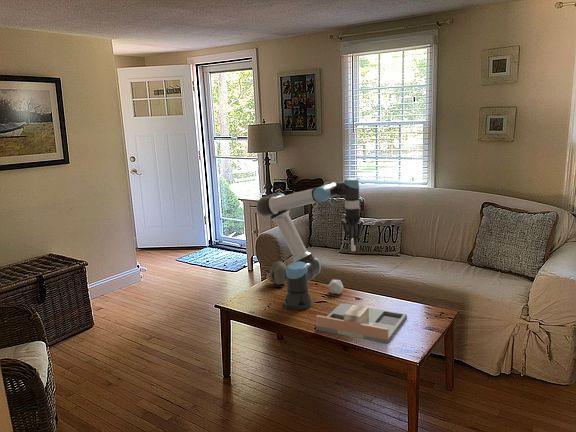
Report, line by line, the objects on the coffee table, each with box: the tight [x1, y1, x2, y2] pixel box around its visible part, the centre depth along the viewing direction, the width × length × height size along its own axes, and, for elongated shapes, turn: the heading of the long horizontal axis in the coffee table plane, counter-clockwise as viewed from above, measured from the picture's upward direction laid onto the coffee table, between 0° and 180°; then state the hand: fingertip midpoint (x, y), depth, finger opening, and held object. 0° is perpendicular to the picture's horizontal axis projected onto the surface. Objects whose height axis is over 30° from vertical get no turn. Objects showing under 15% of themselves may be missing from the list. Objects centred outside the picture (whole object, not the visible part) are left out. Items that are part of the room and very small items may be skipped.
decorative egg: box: [269, 260, 288, 286], centre depth 288 cm, size 12×12×15 cm
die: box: [327, 279, 344, 295], centre depth 269 cm, size 8×9×10 cm
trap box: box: [315, 302, 408, 345], centre depth 228 cm, size 36×30×7 cm
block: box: [344, 304, 370, 324], centre depth 221 cm, size 8×12×8 cm, turn 150°
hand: (353, 250), depth 247 cm, fingers closed
